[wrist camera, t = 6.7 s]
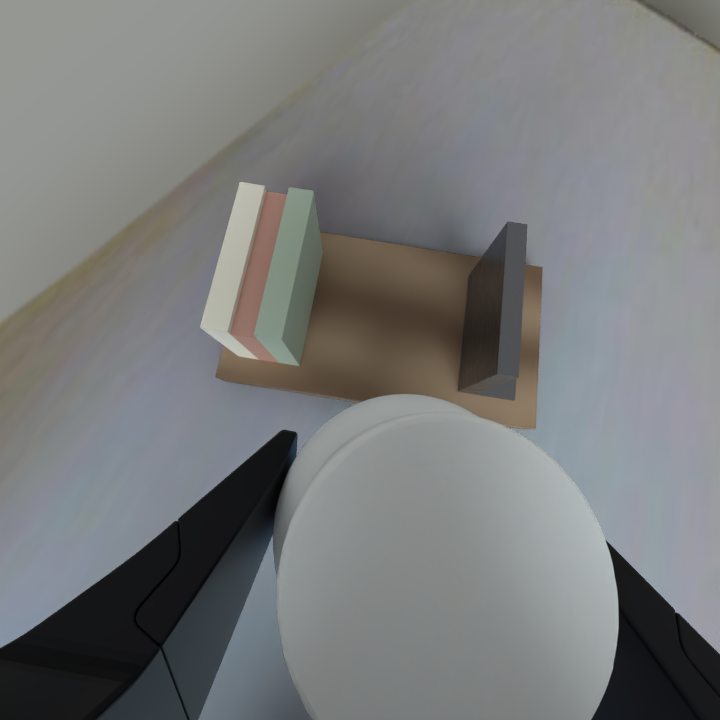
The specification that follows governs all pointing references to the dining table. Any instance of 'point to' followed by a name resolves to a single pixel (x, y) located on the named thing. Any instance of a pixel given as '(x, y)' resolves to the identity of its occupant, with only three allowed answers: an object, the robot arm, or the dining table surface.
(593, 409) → the dining table surface
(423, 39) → the dining table surface
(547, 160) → the dining table surface
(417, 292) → the shelf board
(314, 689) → the pill bottle
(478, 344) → the bookend
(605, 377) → the dining table surface
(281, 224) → the row of books
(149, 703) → the robot arm
